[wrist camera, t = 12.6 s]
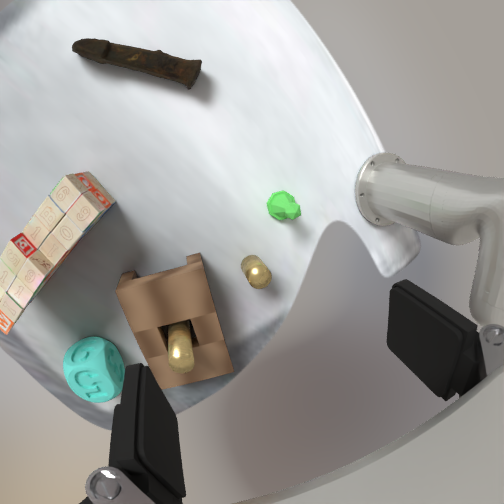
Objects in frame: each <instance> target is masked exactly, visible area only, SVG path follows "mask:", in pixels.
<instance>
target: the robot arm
mask: <svg viewBox="0 0 504 504" xmlns="http://www.w3.org/2000/svg"><path fill="white" fill-rule="evenodd" d="M355 197H356V202H357V205H358V208H359V210H360V212H361V213H362V215H363V216H364V217H365V218H366V219H367V220H368V221H370V222H371V223H373V224H376V225H379V226H388V225H391V224H394V223H395V222H396V223H399V224H401V225H404V226H406V227H409V228H411V229H414V230H416V231H419V232H421V233H424V234H426V235H429V236H431V237H433V238H436V239H438V240H441V241H443V242H445V243H448V244H451V245H464V244H467V243H470V242H472V241H474V240H476V239H477V238H479V237H480V246H479V254H478V260H477V265H476V270H475V275H474V280H473V285H472V289H471V294H470V300H469V308H470V313H471V315H472V317H473V318H474V320H475V321H476V322H477V323H478V324H480V325H481V326H482V329H481V330H480V332H479V333H478V332H477V331H476V330H477V325H476V324H475V323H473V322H471V321H470V320H469V319H467V318H466V317H464V316H463V315H461V314H460V313H458V312H457V311H455V310H454V309H452V308H451V307H449V306H448V305H446V304H445V303H443V302H442V301H440V300H439V299H437V298H436V297H434V296H432V295H431V294H429V293H428V292H426V291H425V290H423V289H421V288H420V287H418V286H417V285H415V284H413V283H412V282H410V281H409V280H407V279H406V280H402V281H400V282H397V283H395V284H394V285H393V286H392V289H391V290H390V298H389V317H388V332H387V345H388V347H389V349H390V350H391V351H392V352H393V353H394V354H395V355H396V356H397V357H398V358H399V359H400V360H401V361H402V362H403V363H404V364H405V365H406V366H407V367H408V368H409V369H410V370H411V371H412V372H413V373H414V374H415V375H416V376H417V377H418V378H419V379H420V380H421V381H422V382H423V383H424V384H425V385H426V386H427V387H428V388H429V389H430V390H431V391H432V392H433V393H434V394H435V395H437V396H438V397H442V398H443V399H444V400H445V401H447V400H448V399H450V398H451V397H453V396H454V395H455V393H456V392H457V393H458V394H459V399H458V400H456V401H455V402H454V403H452V404H451V405H450V406H448V407H447V408H445V409H444V410H443V411H441V412H440V413H438V414H437V415H435V416H434V417H433V418H431V419H429V420H428V421H426V422H425V423H424V424H422V425H420V426H418V427H417V428H415V429H414V430H412V431H410V432H409V433H407V434H405V435H404V436H402V437H401V438H399V439H397V440H395V441H394V442H392V443H390V444H388V445H386V446H384V447H383V448H381V449H379V450H377V451H375V452H373V453H371V454H370V455H367V456H365V457H363V458H361V459H359V460H357V461H355V462H353V463H351V464H348V465H346V466H344V467H341V468H339V469H337V470H335V471H332V472H330V473H327V474H325V475H322V476H320V477H317V478H315V479H312V480H310V481H307V482H304V483H301V484H299V485H296V486H293V487H290V488H287V489H284V490H281V491H277V492H274V493H271V494H267V495H264V496H260V497H256V498H253V499H249V500H246V501H241V502H237V503H233V504H504V178H495V177H483V176H477V175H470V174H464V173H459V172H453V171H447V170H442V169H435V168H429V167H422V166H416V165H409V164H406V163H405V162H404V161H403V160H402V159H401V158H400V157H399V156H396V155H395V154H391V153H378V154H375V155H373V156H372V157H370V158H369V159H368V160H367V161H366V162H365V163H364V164H363V166H362V167H361V169H360V171H359V173H358V175H357V179H356V185H355ZM85 489H86V494H87V495H88V496H87V497H86V498H85V499H84V500H83V501H82V502H81V503H79V504H183V503H182V498H183V497H185V496H186V491H185V484H184V477H183V469H182V460H181V452H180V443H179V432H178V422H177V418H176V415H175V413H174V411H173V409H172V407H171V406H170V404H169V402H168V401H167V399H166V397H165V395H164V394H163V392H162V390H161V388H160V386H159V384H158V383H157V381H156V379H155V377H154V375H153V373H152V371H151V369H150V368H149V366H144V365H143V364H142V363H138V364H134V365H129V366H126V368H125V374H124V381H123V388H122V396H121V404H117V405H116V406H115V409H114V416H113V424H112V433H111V442H110V454H109V466H108V467H101V468H98V469H97V470H95V471H93V472H92V473H91V474H90V475H89V477H88V479H87V481H86V486H85Z"/></svg>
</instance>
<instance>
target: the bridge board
mask: <svg viewBox="0 0 504 504" xmlns="http://www.w3.org/2000/svg"><path fill="white" fill-rule="evenodd" d="M115 292H116V294H117V297H118V299H119V302H120V304H121V306H122V309H123V311H124V314H125V316H126V318H127V321H128V323H129V325H130V327H131V330H132V332H133V334H134V336H135V338H136V340H137V343H138V345H139V347H140V349H141V351H142V353H143V355H144V357H145V359H146V361H147V363H148V365H149V367H150V369H151V371H152V373H153V375H154V377H155V379H156V381H157V382H158V384H159V386H160V388H161V390H162V389H166V388H171V387H176V386H180V385H184V384H189V383H193V382H197V381H201V380H205V379H209V378H213V377H217V376H220V375H224V374H228V373H231V372H234V369H233V366H232V363H231V359H230V356H229V353H228V350H227V346H226V343H225V340H224V336H223V333H222V330H221V326H220V323H219V320H218V316H217V313H216V309H215V306H214V302H213V299H212V295H211V292H210V288H209V285H208V281H207V277H206V274H205V270H204V266H203V263H202V259H201V255H200V253H197V254H193V255H190V256H187V265H185V266H182V267H178V268H174V269H170V270H167V271H163V272H159V273H155V274H152V275H148V276H144V277H140V278H137V276H136V273H135V270H134V271H130V272H127V273H123V274H122V276H121V278H120V281H119V283H118V286H117V288H116V291H115ZM187 319H191V322H192V325H193V328H194V331H195V334H196V336H197V337H194V338H191V341H192V348H193V356H194V367H193V369H192V370H191V371H189V372H187V373H176V372H174V371H173V370H171V368H170V367H169V358H168V342H167V340H166V338H165V335H164V333H163V330H162V328H161V326H164V325H168V324H172V323H176V322H180V321H184V320H187Z"/></svg>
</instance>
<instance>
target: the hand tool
mask: <svg viewBox="0 0 504 504" xmlns="http://www.w3.org/2000/svg"><path fill="white" fill-rule="evenodd" d="M72 51H73V52H75V53H78V54H79V55H81V56H82V57H86V58H88V59H90V60H94V61H96V62H99V63H102V64H106V63H108V64H113V65H117V66H120V67H125V68H128V69H132V70H136V71H141V72H145V73H148V74H151V75H154V76H157V77H160V78H165V79H170V80H173V81H177V82H179V83H182V84H184V85H186V86H187V88H188V90H189V89H191V87H192V86H193V84H194V83H195V81H196V79H197V77H198V75H199V73H200V70H201V63H202V61H201V60H185V59H182V58H179V57H174V56H171V55H169V54H167V53H163V52H162V51H161V50H157V51H150V50H146V49H141V48H136V47H131V46H125V45H120V44H114V43H110V42H109V41H107V40H98V39H81V40H78V41H76V42H74V44H73V45H72Z"/></svg>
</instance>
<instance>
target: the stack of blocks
mask: <svg viewBox="0 0 504 504" xmlns="http://www.w3.org/2000/svg"><path fill="white" fill-rule="evenodd" d="M115 202H116V201H115V200H114V199H113V198H112V197H111V195H110V194H109V193H108V192H107V191H106V190H105V189H104V188H103V187H102V185H101V184H100V183H99V182H98V181H97V180H96V179H95V177H94V176H93V175H92V174H91V173H90V172H83V173H77V174H69V175H65V176H64V177H63V178H62V179H61V181H60V182H59V183H58V184H57V186H56V187H55V188H54V189H53V191H52V192H51V193H50V195H48V197H47V198H46V199H45V200H44V202H43V203H42V204H41V206H40V207H39V209H38V210H37V211H36V213H35V214H34V215H33V216H32V218H31V219H30V221H29V222H28V224H27V225H26V227H25V228H24V230H23V232H22V233H20V234H18V235H17V236H15V237H14V238H12V239H11V240H10V241H9V243H8V245H7V246H6V248H5V250H4V252H3V253H2V255H1V257H0V329H1V330H2V331H3V332H4V333H5V334H6V335H7V334H8V333H9V331H10V330H11V328H12V327H13V325H14V324H15V323H16V321H17V320H18V319H19V317H20V316H21V315H22V313H23V312H24V310H25V309H26V307H27V306H28V305H29V303H31V302H32V300H33V299H34V298H35V296H36V295H37V294H38V293H39V291H40V290H41V289H42V287H43V286H44V285H45V284H46V283H47V281H48V280H49V279H50V277H51V276H52V275H53V274H54V272H55V271H56V270H57V269H58V267H59V266H60V265H61V264H62V263H63V261H64V260H65V258H66V257H67V255H68V254H69V253H70V252H71V250H72V249H73V248H74V247H75V246H76V244H77V243H78V242H79V241H80V239H81V238H82V237H83V236H84V235H85V234H86V233H88V232H89V231H90V229H91V228H92V227H93V226H94V225H95V224H96V223H97V222H98V221H99V220H100V219H101V217H102V216H103V215H104V214H105V213H106V212H107V211H108V209H109V208H110V207H111V206H112V205H113V204H114V203H115Z"/></svg>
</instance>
